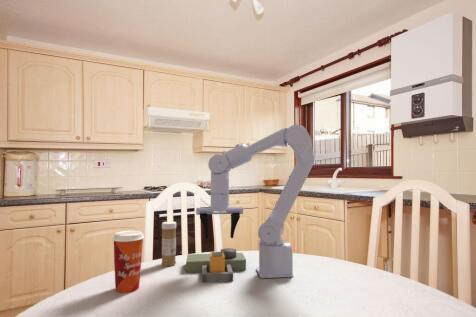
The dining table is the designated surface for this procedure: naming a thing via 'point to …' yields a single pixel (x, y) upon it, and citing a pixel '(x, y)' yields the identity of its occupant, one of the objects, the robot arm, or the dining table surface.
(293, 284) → the dining table surface
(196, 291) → the dining table surface
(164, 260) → the sprinkles bottle
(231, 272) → the green block with knob
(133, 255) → the paper cup
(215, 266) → the chute block
